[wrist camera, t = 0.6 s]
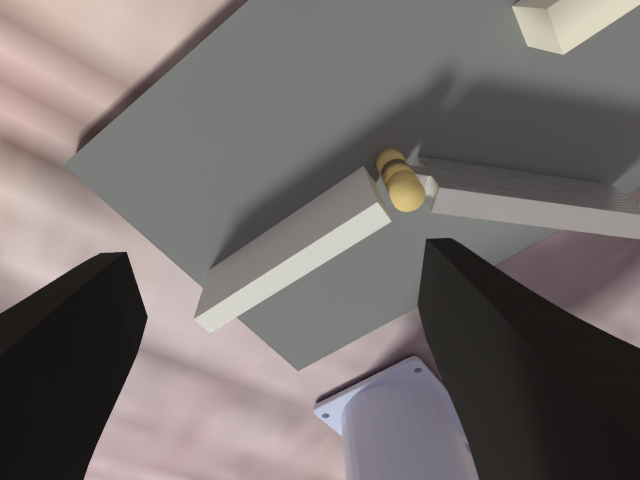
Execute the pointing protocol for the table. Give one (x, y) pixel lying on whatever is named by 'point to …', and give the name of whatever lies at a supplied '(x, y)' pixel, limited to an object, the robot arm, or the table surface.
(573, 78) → the hinge base
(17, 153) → the table surface
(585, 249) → the table surface
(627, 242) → the table surface
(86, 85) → the table surface
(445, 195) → the hinge leaf
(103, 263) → the robot arm
